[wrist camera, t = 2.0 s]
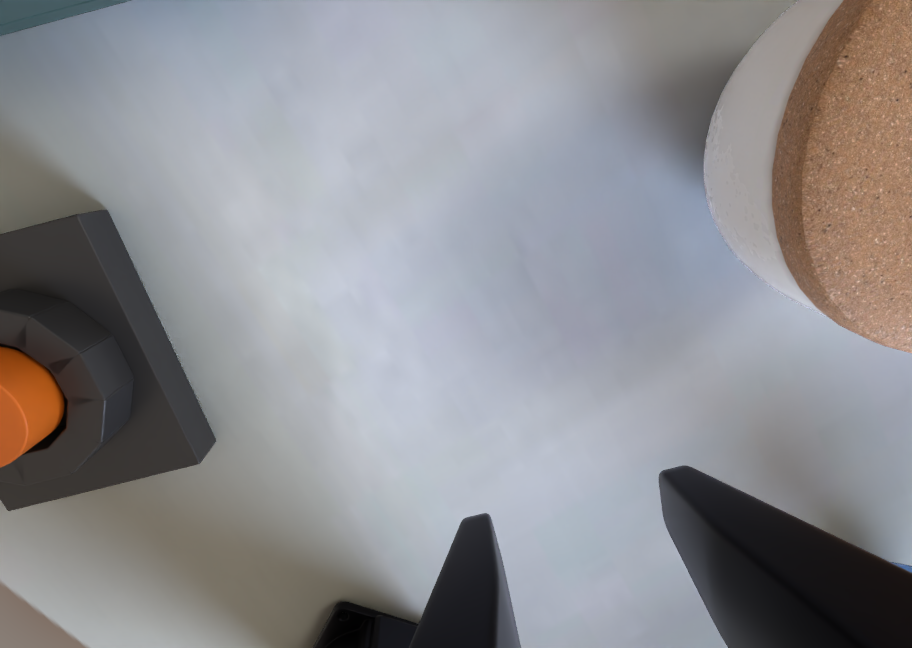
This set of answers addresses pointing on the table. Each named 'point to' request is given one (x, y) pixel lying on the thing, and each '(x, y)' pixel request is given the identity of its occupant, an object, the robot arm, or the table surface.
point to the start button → (26, 403)
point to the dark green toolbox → (44, 11)
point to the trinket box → (823, 163)
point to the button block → (93, 363)
